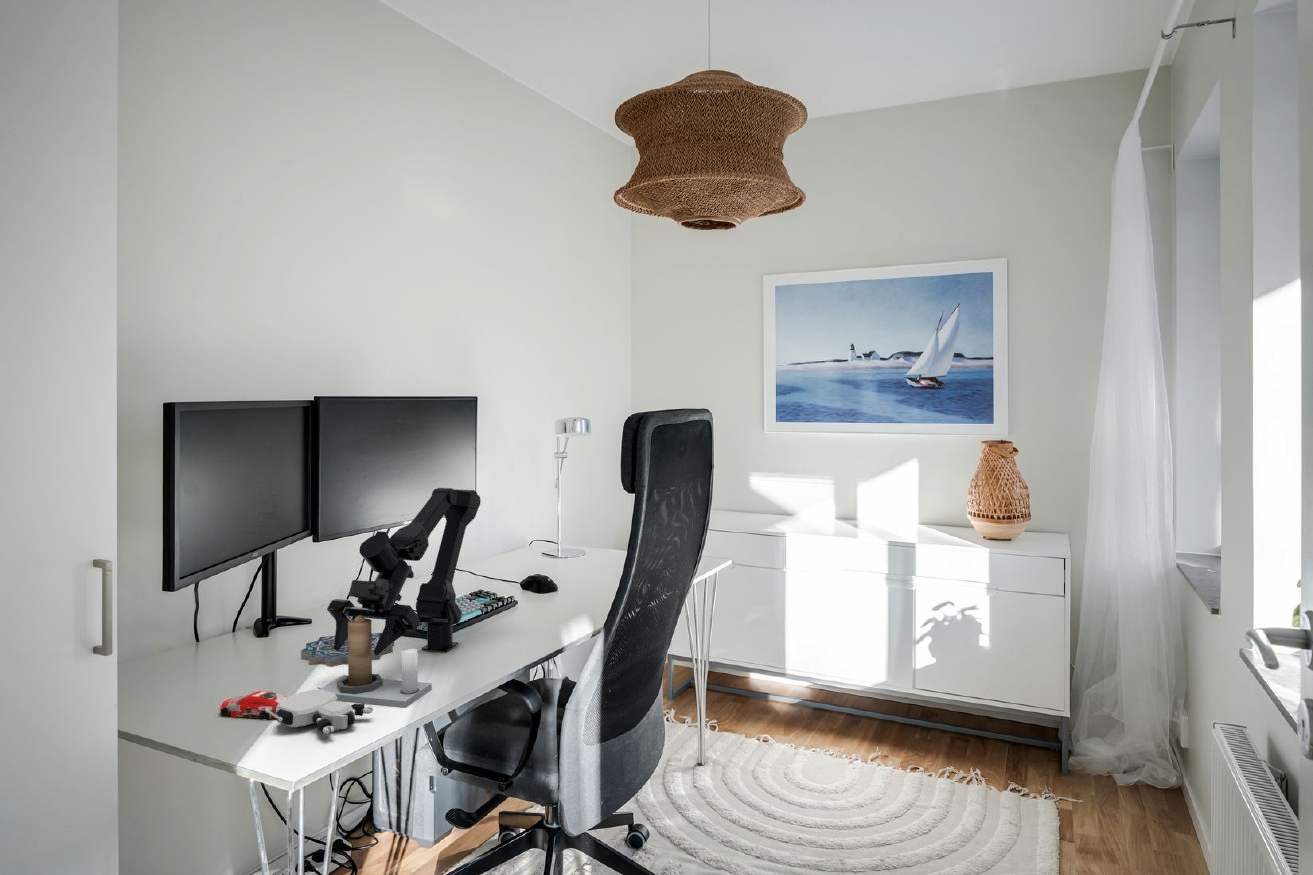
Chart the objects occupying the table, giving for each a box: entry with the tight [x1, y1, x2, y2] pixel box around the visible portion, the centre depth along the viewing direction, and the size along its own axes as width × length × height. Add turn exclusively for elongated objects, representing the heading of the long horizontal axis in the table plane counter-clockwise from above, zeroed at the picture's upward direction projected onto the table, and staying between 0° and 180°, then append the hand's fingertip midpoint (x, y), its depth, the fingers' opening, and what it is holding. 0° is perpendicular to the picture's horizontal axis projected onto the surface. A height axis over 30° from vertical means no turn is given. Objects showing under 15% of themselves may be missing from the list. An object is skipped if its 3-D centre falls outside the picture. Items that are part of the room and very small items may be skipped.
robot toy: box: [265, 686, 374, 735], centre depth 141 cm, size 12×4×15 cm
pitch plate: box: [321, 648, 433, 708], centre depth 155 cm, size 10×20×9 cm, turn 77°
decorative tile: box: [300, 632, 395, 668], centre depth 182 cm, size 20×20×2 cm
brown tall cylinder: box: [347, 615, 373, 687], centre depth 156 cm, size 4×4×14 cm
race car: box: [219, 690, 289, 721], centre depth 145 cm, size 13×5×4 cm, turn 80°
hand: (355, 652), depth 155 cm, fingers open, 9 cm apart
